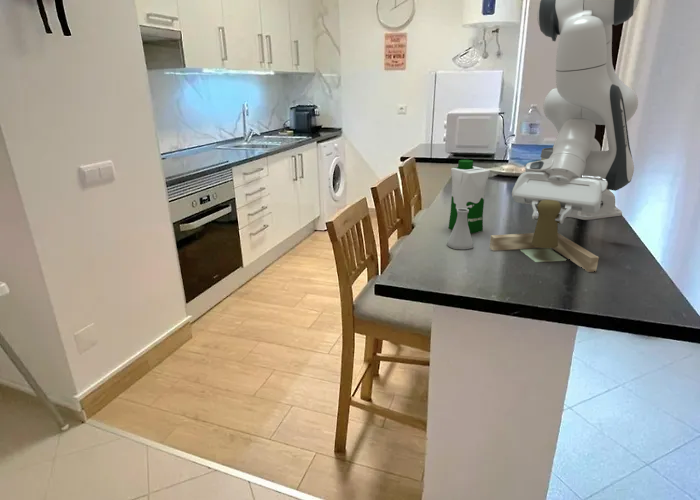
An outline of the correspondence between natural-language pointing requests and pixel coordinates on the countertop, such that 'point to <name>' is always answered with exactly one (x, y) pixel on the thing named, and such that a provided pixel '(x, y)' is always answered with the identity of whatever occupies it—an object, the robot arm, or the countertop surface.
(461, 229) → the flask
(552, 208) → the cork
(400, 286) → the countertop surface
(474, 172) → the milk carton
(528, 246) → the corner arena
